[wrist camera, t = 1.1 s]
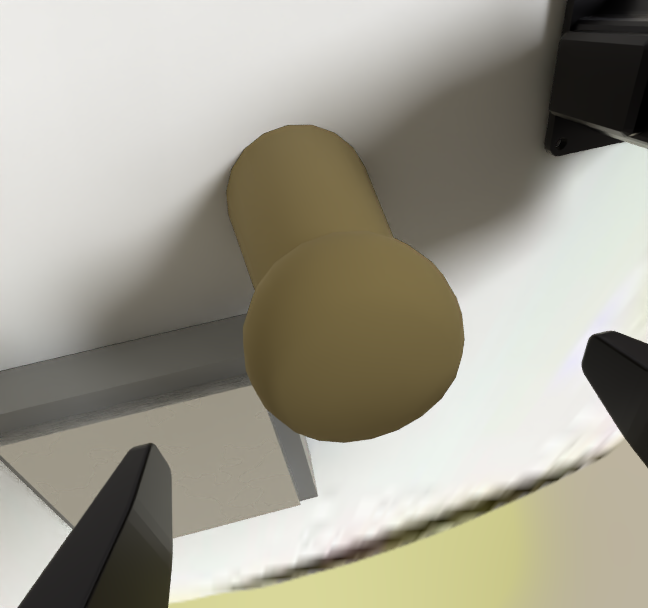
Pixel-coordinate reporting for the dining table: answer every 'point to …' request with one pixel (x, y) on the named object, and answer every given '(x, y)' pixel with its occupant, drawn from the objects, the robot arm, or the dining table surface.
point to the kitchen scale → (154, 427)
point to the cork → (335, 293)
